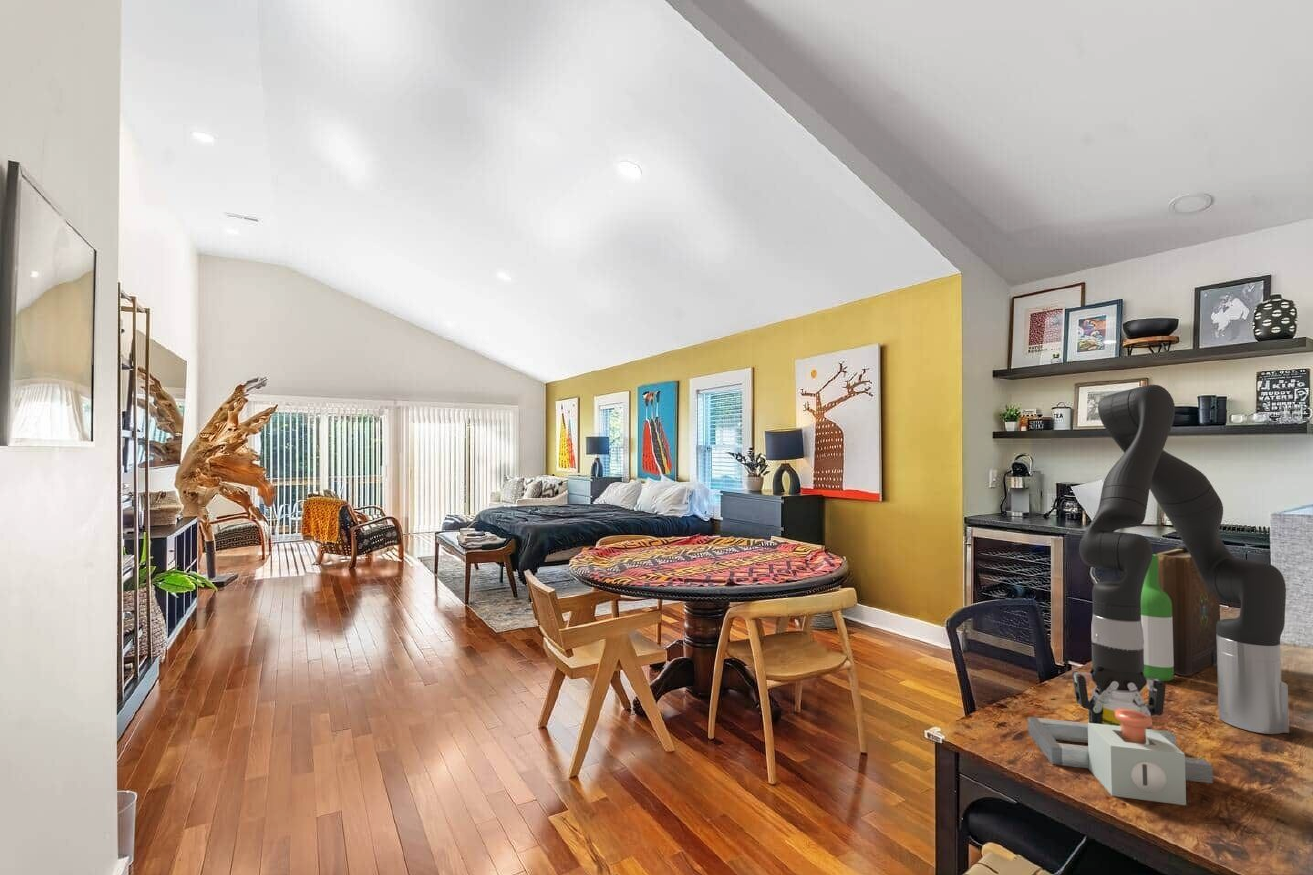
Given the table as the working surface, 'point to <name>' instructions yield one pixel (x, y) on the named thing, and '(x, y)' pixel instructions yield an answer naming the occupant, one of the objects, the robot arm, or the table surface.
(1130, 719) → the plunger
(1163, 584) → the decorative book
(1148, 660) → the wine bottle
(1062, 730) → the rail
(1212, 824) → the table surface
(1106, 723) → the pill bottle
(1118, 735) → the plunger housing block
